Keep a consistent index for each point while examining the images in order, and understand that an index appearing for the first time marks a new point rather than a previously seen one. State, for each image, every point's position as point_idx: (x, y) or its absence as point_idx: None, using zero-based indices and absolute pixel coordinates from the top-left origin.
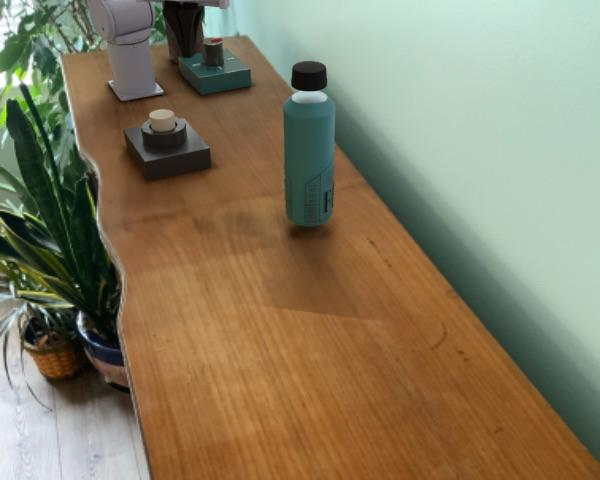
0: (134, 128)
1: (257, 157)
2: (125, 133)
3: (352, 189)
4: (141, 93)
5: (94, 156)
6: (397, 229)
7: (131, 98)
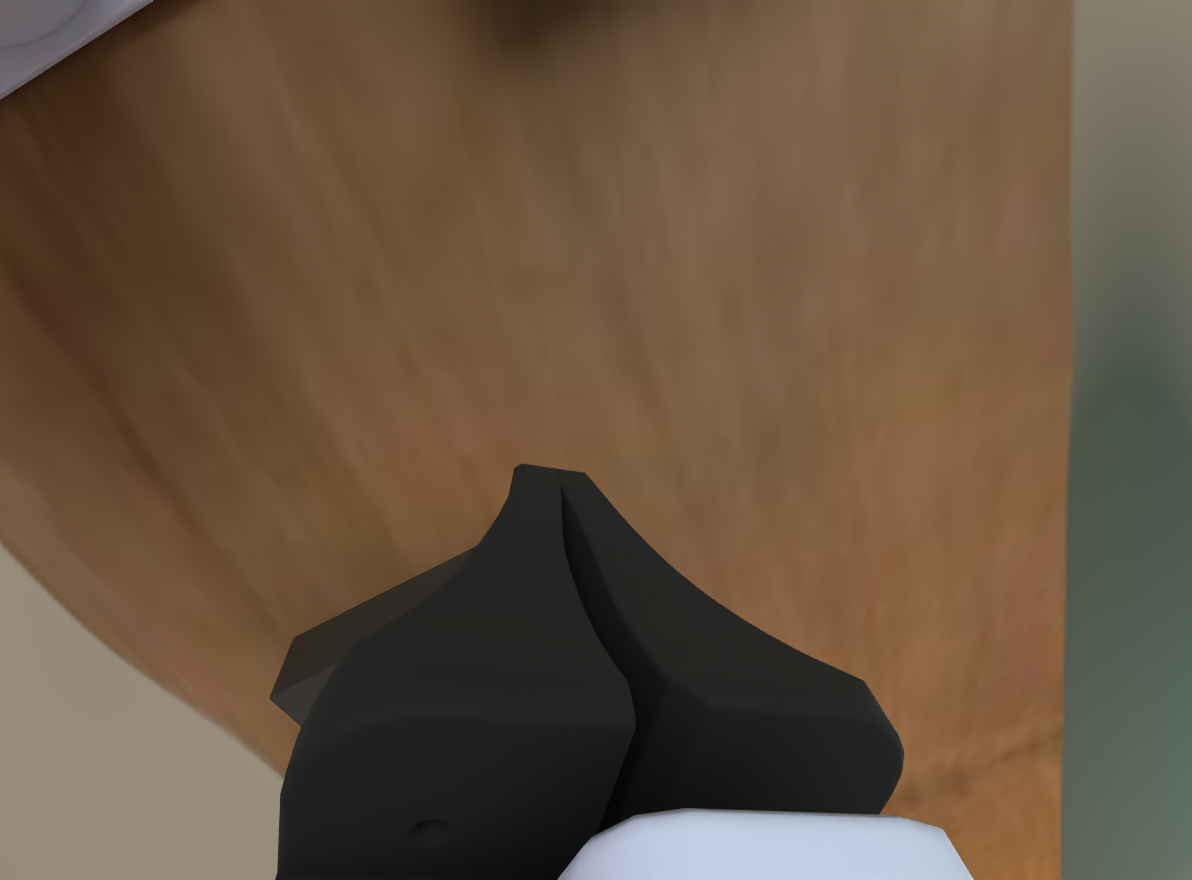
0: (319, 688)
1: (799, 642)
2: (296, 721)
3: (1029, 755)
4: (49, 32)
5: (192, 699)
6: (1059, 859)
7: (6, 90)
